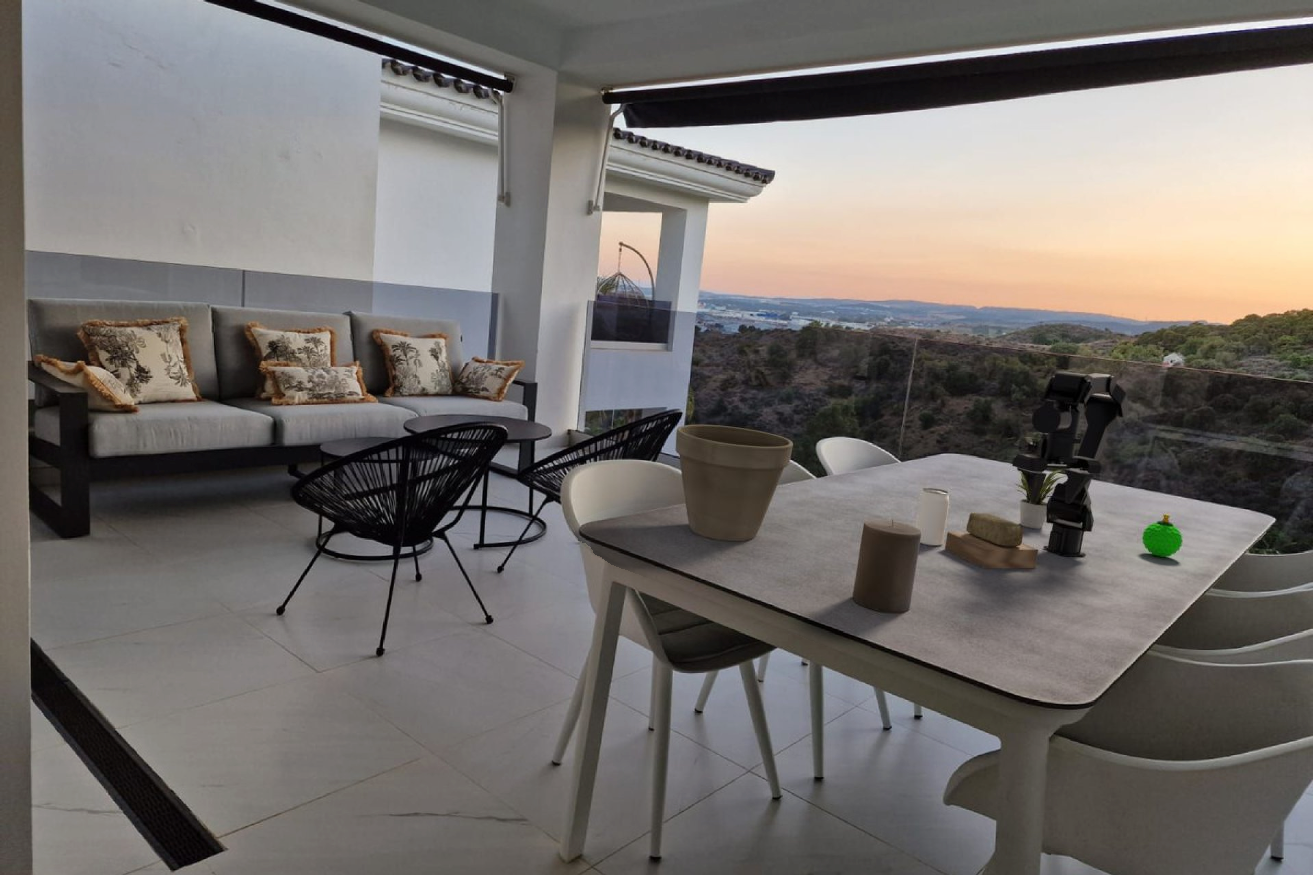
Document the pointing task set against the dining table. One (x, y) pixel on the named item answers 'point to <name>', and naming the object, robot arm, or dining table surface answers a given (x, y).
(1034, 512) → the house plant
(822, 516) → the dining table surface
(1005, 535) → the stone block
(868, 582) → the pillar candle
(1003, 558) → the plinth
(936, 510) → the can
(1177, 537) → the ornament
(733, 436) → the plant pot
